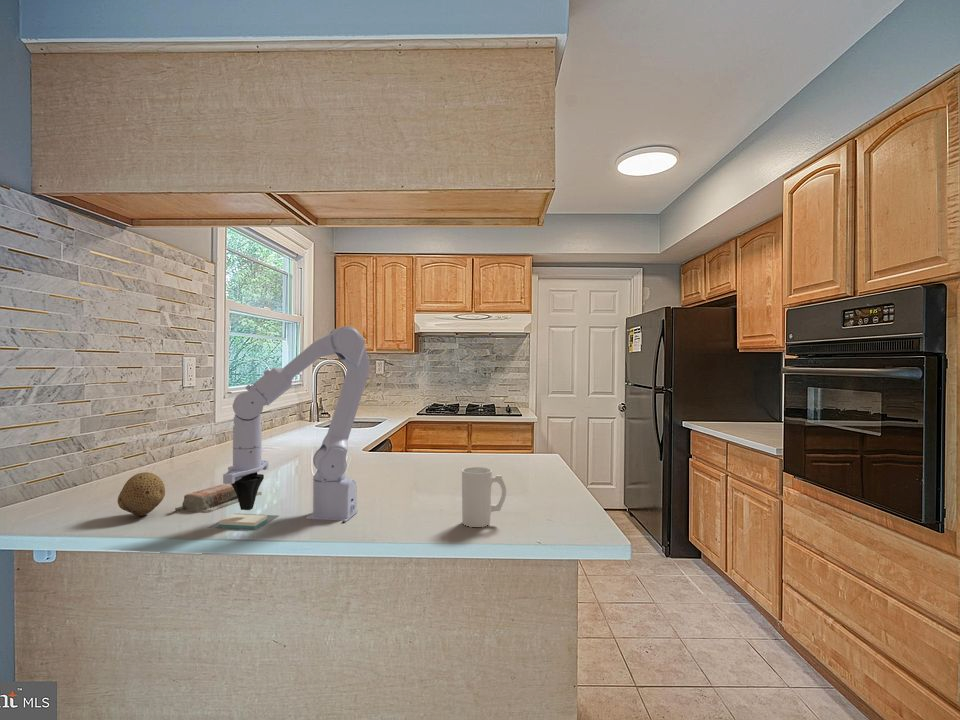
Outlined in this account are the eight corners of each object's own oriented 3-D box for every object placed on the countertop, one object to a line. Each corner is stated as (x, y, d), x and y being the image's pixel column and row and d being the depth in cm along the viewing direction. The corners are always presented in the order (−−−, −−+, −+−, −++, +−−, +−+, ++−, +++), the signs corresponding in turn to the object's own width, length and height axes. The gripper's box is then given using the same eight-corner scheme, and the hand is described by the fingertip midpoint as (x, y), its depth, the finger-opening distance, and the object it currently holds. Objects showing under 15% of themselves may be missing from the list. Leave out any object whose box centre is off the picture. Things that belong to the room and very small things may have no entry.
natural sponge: (171, 515, 121) (172, 472, 121) (127, 525, 115) (127, 479, 114) (157, 508, 127) (157, 466, 127) (113, 516, 120) (114, 472, 120)
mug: (461, 528, 114) (461, 473, 114) (461, 519, 121) (461, 466, 121) (507, 528, 115) (507, 473, 115) (504, 518, 122) (505, 467, 122)
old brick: (208, 496, 122) (174, 493, 125) (208, 517, 122) (174, 513, 125) (262, 479, 139) (231, 476, 142) (262, 497, 139) (231, 494, 142)
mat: (279, 518, 120) (279, 515, 120) (256, 532, 110) (256, 529, 110) (234, 516, 122) (234, 513, 122) (207, 530, 112) (207, 527, 112)
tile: (267, 515, 116) (254, 522, 111) (267, 521, 116) (254, 529, 111) (232, 513, 117) (219, 520, 112) (232, 520, 117) (219, 527, 112)
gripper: (248, 441, 122) (247, 499, 122) (209, 452, 108) (208, 518, 108) (277, 441, 122) (276, 500, 122) (241, 453, 107) (241, 519, 107)
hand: (246, 509), depth 115 cm, fingers closed
